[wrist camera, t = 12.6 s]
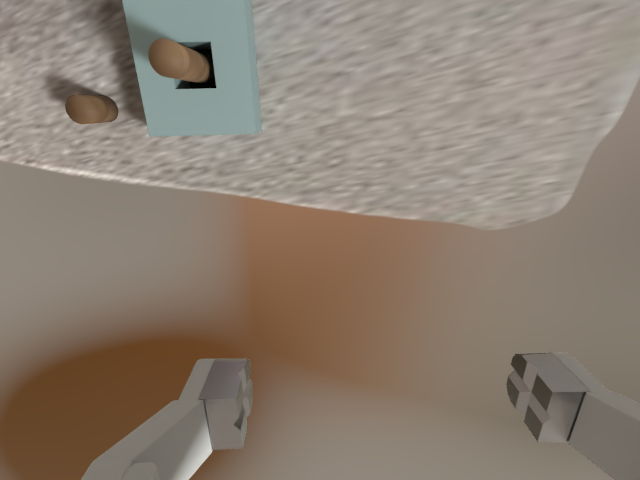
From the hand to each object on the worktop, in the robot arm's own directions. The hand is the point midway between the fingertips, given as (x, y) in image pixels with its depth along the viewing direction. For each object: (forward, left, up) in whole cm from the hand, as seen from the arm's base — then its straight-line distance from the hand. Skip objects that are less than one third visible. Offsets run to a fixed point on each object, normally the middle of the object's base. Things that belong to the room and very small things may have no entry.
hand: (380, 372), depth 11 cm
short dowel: (-8, -28, -37) cm, 47 cm away
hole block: (-12, -15, -37) cm, 42 cm away
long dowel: (-12, -15, -37) cm, 42 cm away
